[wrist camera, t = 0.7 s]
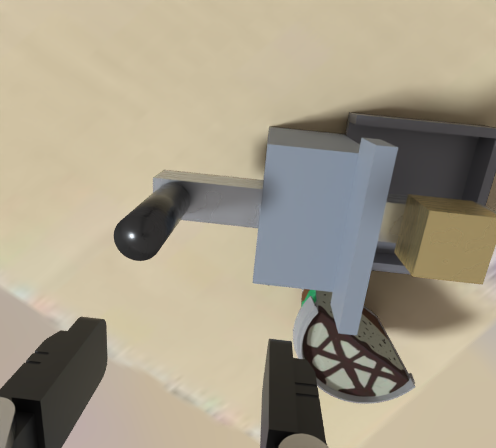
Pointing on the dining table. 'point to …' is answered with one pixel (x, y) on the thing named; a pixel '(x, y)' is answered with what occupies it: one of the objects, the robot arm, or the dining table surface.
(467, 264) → the block
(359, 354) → the food container
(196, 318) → the dining table surface
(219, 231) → the dining table surface
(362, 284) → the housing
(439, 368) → the dining table surface
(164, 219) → the grey lever black handle
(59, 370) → the robot arm
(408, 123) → the tray
